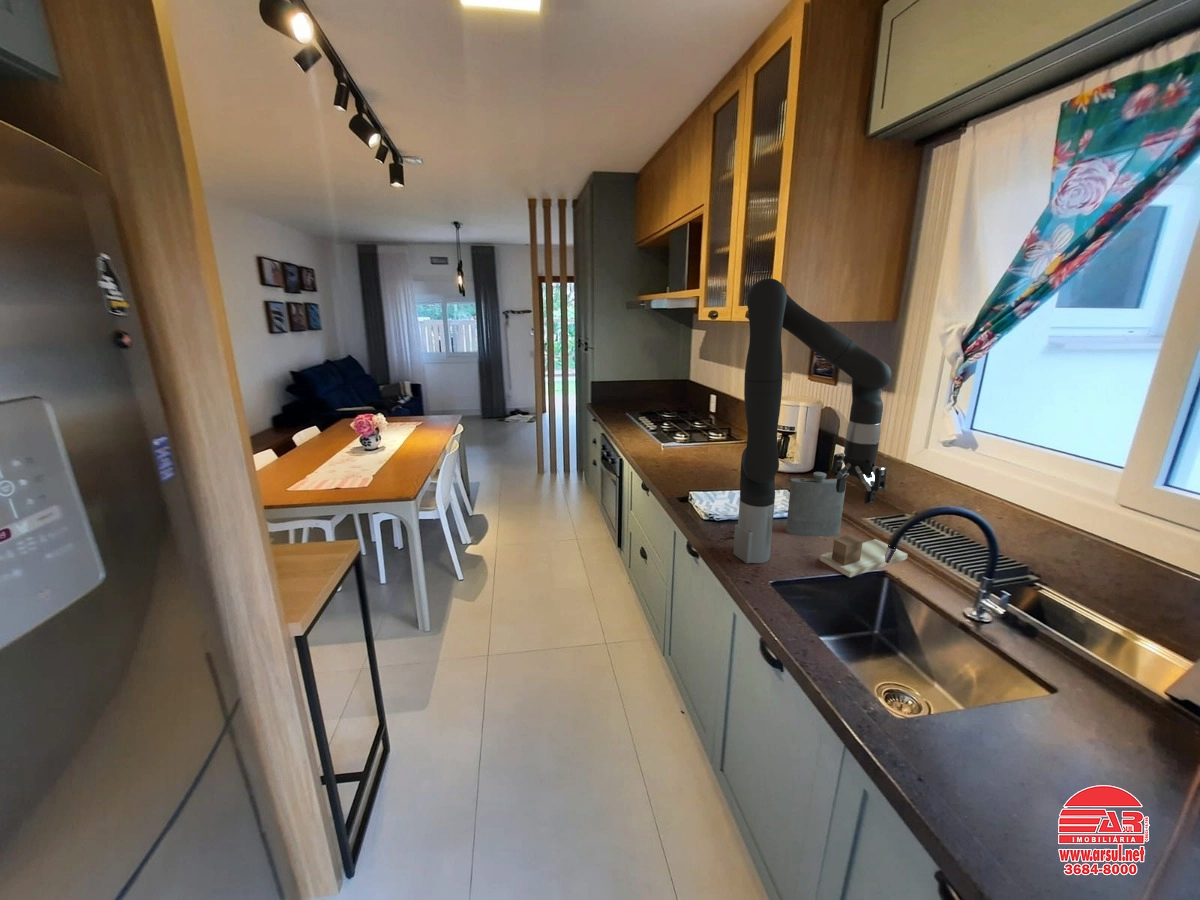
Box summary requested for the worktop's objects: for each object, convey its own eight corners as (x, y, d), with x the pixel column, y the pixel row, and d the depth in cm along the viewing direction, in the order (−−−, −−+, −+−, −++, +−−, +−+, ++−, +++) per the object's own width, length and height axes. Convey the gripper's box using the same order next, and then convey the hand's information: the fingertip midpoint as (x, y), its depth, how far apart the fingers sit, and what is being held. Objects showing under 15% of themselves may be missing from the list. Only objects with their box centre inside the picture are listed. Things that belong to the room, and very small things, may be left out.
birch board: (849, 577, 128) (850, 572, 127) (819, 560, 136) (820, 554, 136) (906, 558, 136) (907, 553, 135) (874, 543, 145) (875, 538, 144)
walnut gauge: (843, 565, 130) (846, 545, 128) (831, 558, 134) (834, 539, 132) (860, 560, 132) (862, 540, 131) (847, 553, 136) (850, 534, 134)
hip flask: (837, 530, 153) (845, 471, 147) (841, 536, 149) (850, 475, 143) (784, 529, 155) (790, 470, 149) (788, 535, 151) (794, 475, 145)
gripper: (828, 433, 128) (821, 491, 133) (877, 447, 115) (867, 510, 120) (849, 430, 131) (841, 486, 135) (898, 443, 118) (888, 505, 123)
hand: (854, 497), depth 128 cm, fingers open, 8 cm apart
